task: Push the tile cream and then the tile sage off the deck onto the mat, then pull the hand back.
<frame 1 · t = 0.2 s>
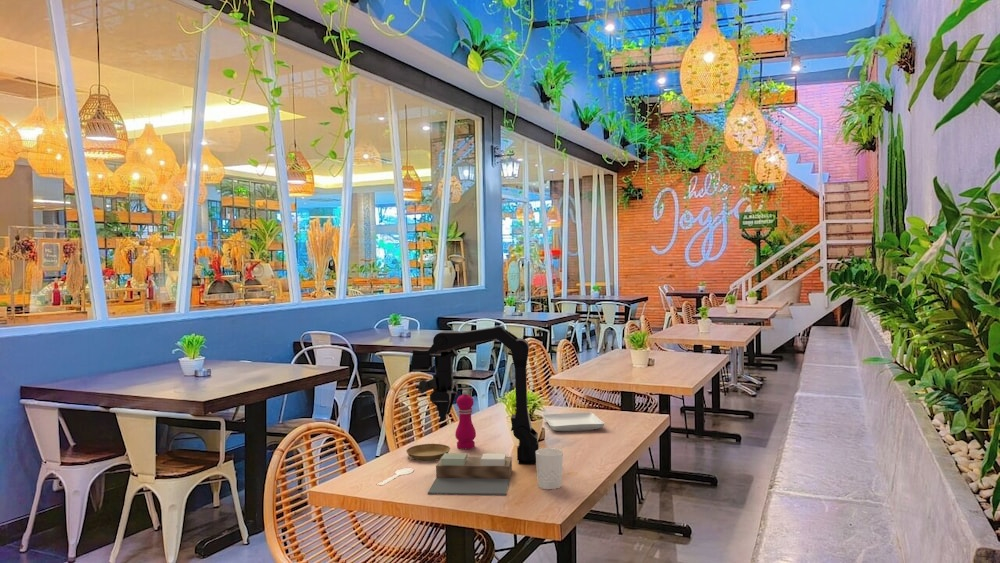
hand: (445, 417, 223), 14 cm above the table, tool pointing down, fingers open, 9 cm apart
deck: (474, 474, 209), on the table
pepper mill: (465, 447, 241), on the table
salad plate: (572, 427, 269), on the table
plant saucer: (428, 457, 230), on the table
tile cream: (493, 462, 207), point 4 cm above the table, touching deck
tile sage: (454, 462, 208), point 4 cm above the table, touching deck
mat: (469, 487, 197), on the table
white cup: (549, 486, 197), on the table
spoon: (395, 478, 208), on the table
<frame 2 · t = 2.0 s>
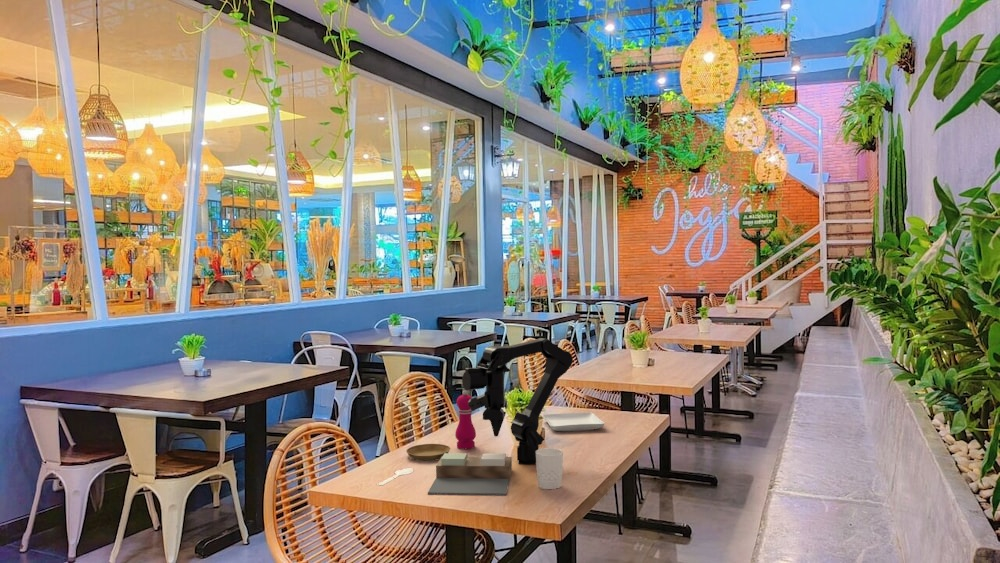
hand: (496, 436, 215), 10 cm above the table, tool pointing down, fingers closed
nothing on the table moved.
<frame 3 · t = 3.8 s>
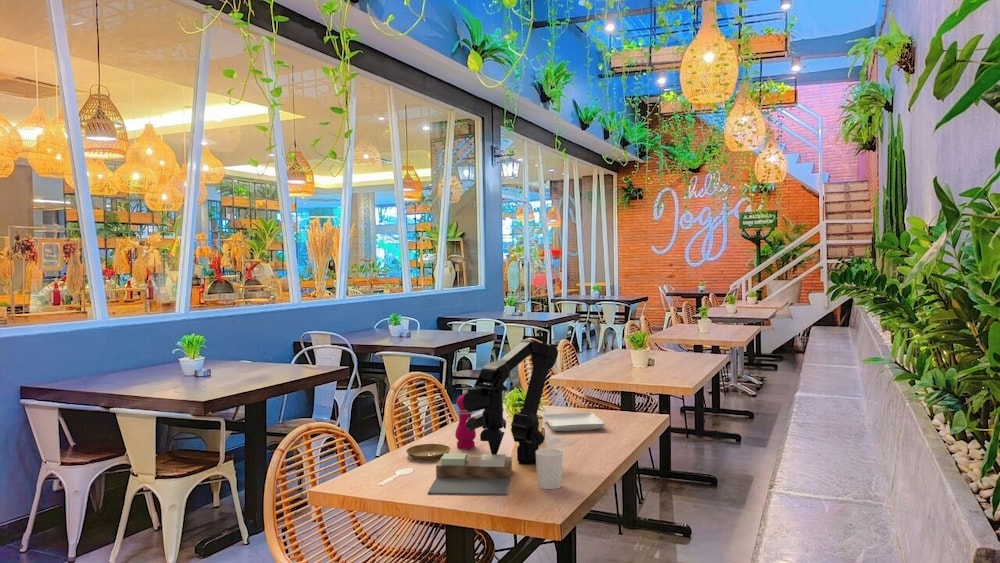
hand: (494, 457, 210), 5 cm above the table, tool pointing down, fingers closed
tile cream: (493, 463, 206), point 4 cm above the table
everything else where it was.
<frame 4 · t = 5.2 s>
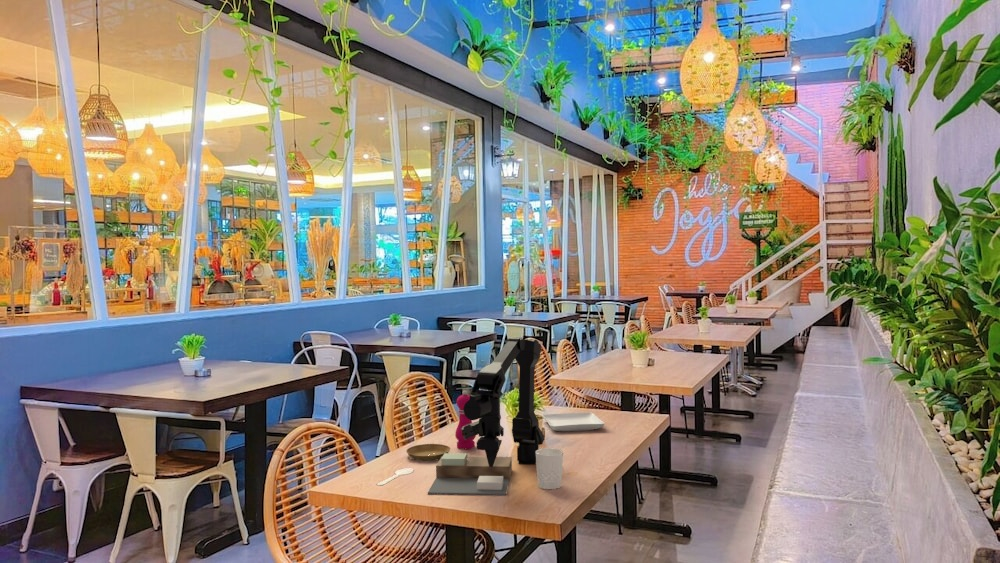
hand: (491, 466, 200), 5 cm above the table, tool pointing down, fingers closed
tile cream: (490, 479, 196), point 2 cm above the table, tilted 180°, touching mat
everything else where it was.
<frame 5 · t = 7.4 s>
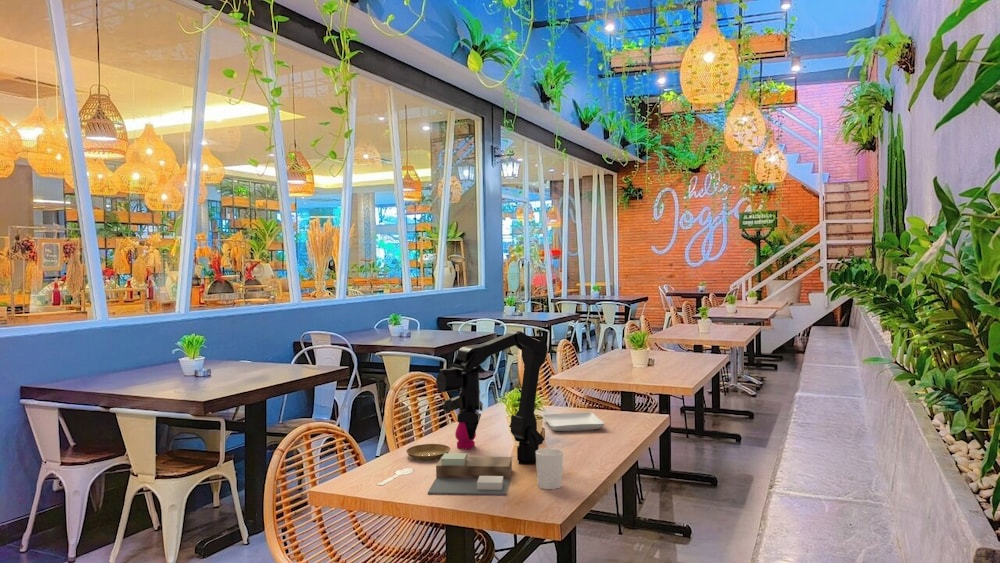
hand: (471, 439, 209), 11 cm above the table, tool pointing down, fingers closed
nothing on the table moved.
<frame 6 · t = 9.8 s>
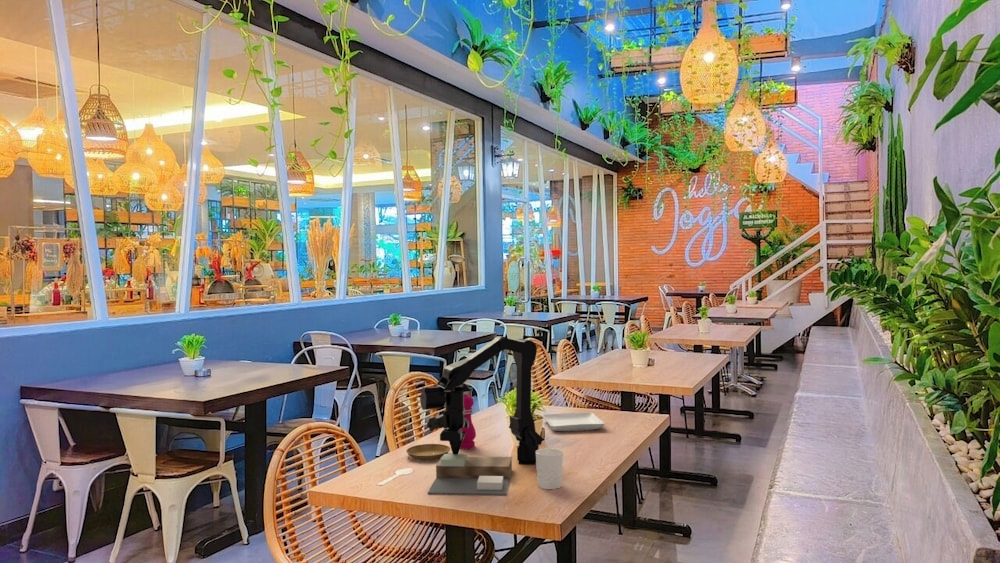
hand: (455, 456, 211), 5 cm above the table, tool pointing down, fingers closed
tile sage: (454, 463, 207), point 4 cm above the table, touching gripper
everything else where it was.
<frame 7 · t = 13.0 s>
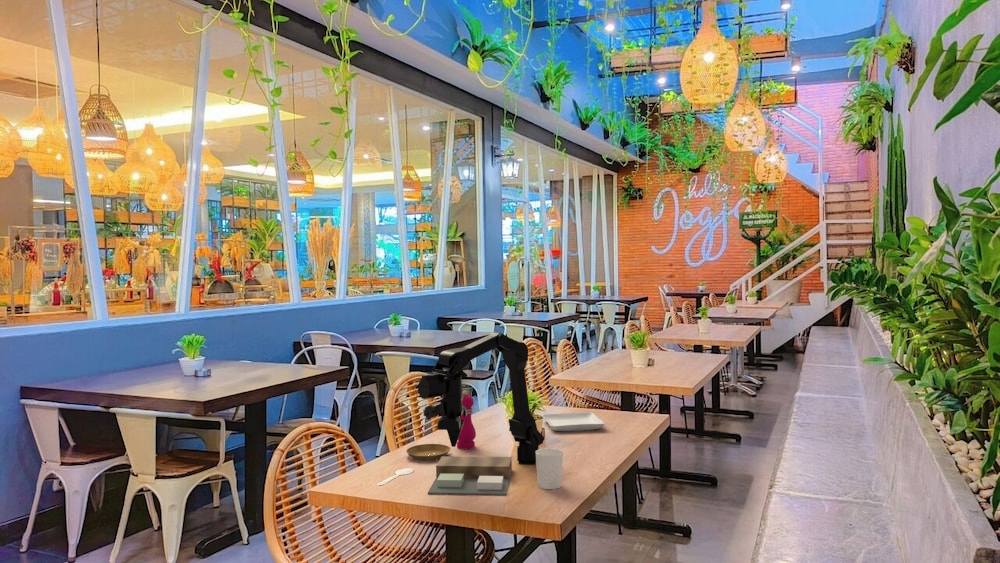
hand: (453, 446, 202), 11 cm above the table, tool pointing down, fingers closed
tile sage: (450, 476, 199), point 2 cm above the table, tilted 180°, touching mat
everything else where it was.
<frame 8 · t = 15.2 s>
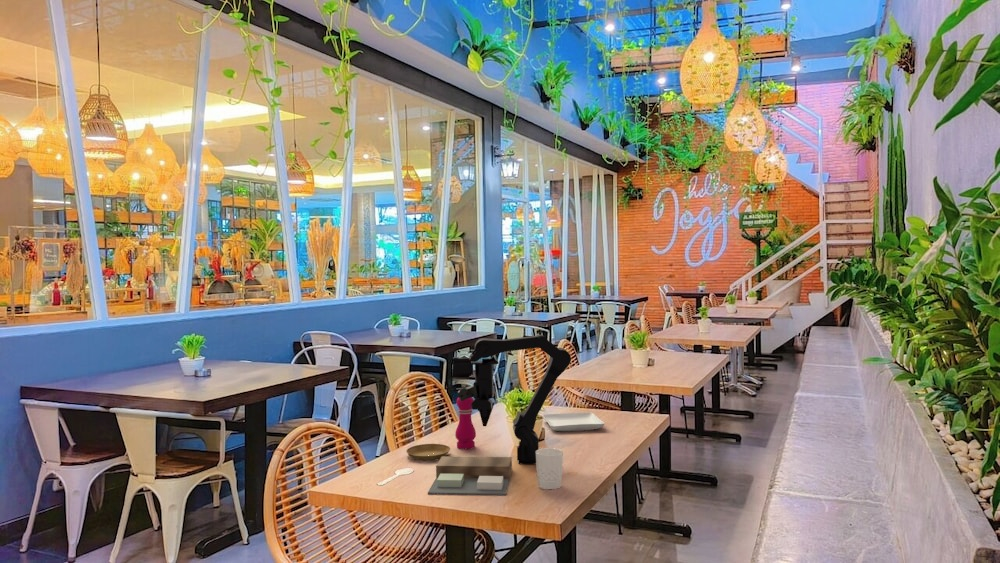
hand: (484, 426, 221), 12 cm above the table, tool pointing down, fingers closed
nothing on the table moved.
at the end: tile cream inside the target area (6.1 cm from its centre), point 2.5 cm above the table; tile sage inside the target area (6.0 cm from its centre), point 2.5 cm above the table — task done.
